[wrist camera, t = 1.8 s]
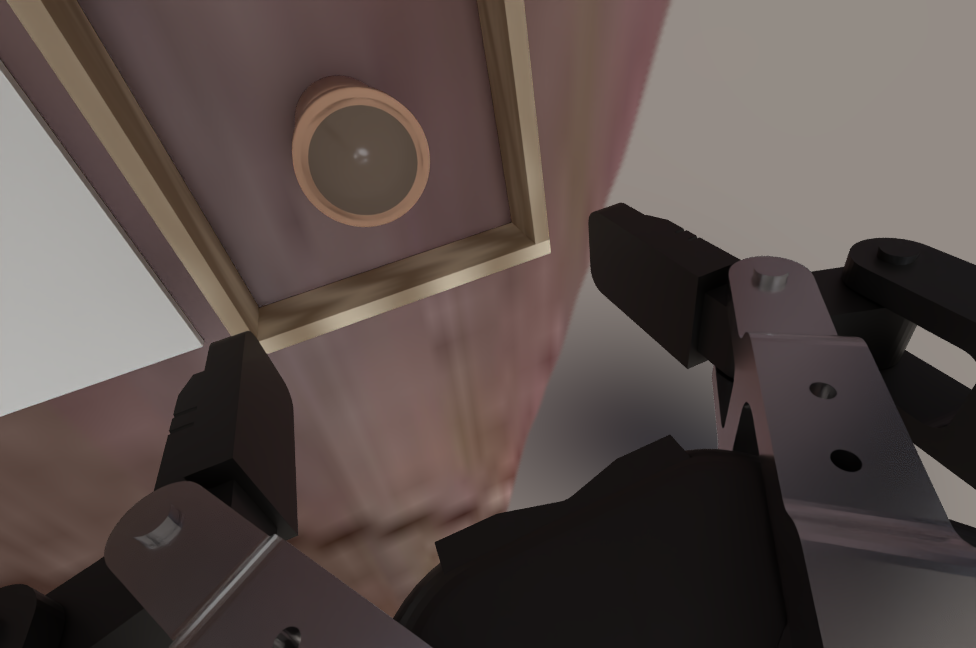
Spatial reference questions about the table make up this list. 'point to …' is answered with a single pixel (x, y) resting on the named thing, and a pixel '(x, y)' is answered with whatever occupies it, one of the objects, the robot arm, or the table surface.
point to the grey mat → (68, 273)
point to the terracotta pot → (358, 152)
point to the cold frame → (154, 178)
